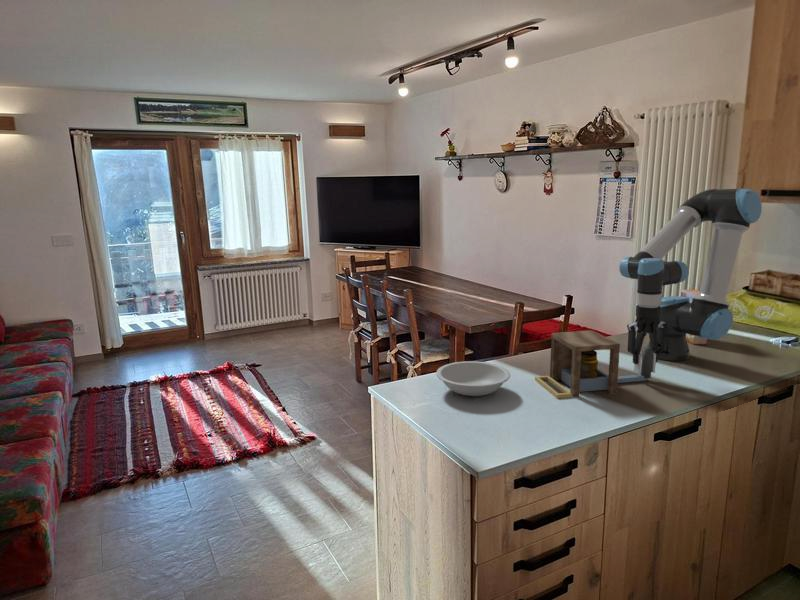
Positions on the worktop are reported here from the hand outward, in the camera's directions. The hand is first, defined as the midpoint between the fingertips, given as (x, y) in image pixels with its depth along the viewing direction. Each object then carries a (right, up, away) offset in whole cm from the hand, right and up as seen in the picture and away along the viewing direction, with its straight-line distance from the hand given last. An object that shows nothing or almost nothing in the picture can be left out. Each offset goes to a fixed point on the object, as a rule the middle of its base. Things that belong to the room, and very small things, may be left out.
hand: (644, 371), depth 183 cm
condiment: (-21, -5, -3) cm, 22 cm away
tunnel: (-22, -4, -3) cm, 23 cm away
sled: (-12, -3, -1) cm, 13 cm away
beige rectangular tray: (-33, -5, -5) cm, 33 cm away
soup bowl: (-59, -6, -6) cm, 60 cm away
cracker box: (+41, +7, +46) cm, 62 cm away
